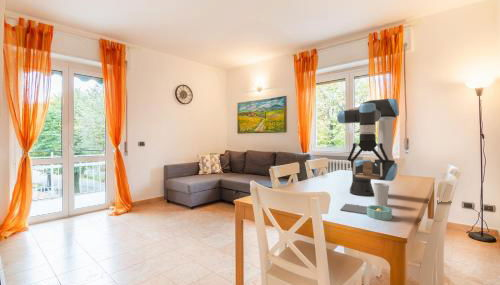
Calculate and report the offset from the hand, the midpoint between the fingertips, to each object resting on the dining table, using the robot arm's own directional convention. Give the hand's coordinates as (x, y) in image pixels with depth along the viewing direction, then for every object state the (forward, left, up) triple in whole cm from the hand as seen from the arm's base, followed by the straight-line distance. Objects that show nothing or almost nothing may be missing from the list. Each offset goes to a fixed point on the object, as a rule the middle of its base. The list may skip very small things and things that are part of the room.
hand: (367, 175), depth 126 cm
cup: (-19, +5, -20) cm, 28 cm away
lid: (0, 0, -1) cm, 1 cm away
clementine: (+3, +6, -17) cm, 19 cm away
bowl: (+3, +6, -20) cm, 21 cm away
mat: (-3, -6, -20) cm, 21 cm away
